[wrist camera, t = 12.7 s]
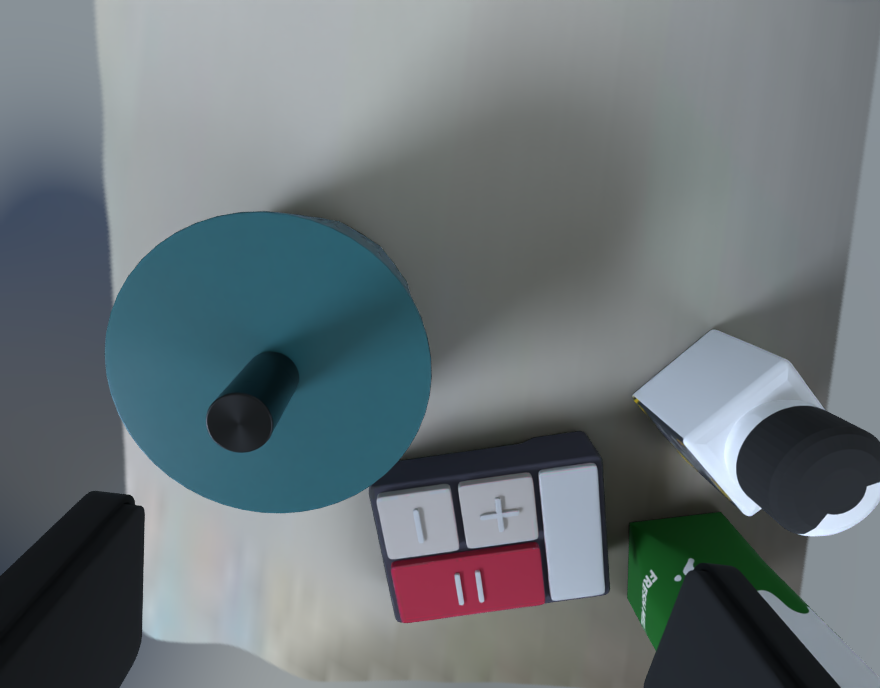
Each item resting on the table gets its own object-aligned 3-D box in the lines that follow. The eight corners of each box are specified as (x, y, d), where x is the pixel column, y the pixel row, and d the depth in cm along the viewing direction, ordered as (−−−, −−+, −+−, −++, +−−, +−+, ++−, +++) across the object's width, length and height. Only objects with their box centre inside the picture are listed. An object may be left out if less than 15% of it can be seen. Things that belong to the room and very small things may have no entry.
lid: (116, 184, 22) (8, 180, 16) (453, 239, 24) (472, 254, 17) (117, 485, 26) (31, 575, 20) (406, 514, 27) (409, 603, 21)
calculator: (365, 494, 31) (606, 460, 31) (372, 459, 36) (586, 429, 35) (395, 634, 35) (615, 604, 34) (398, 586, 39) (594, 560, 38)
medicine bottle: (628, 394, 35) (740, 492, 24) (712, 325, 34) (871, 391, 23) (685, 460, 37) (814, 580, 25) (766, 396, 36) (938, 491, 24)
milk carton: (724, 594, 41) (1014, 949, 21) (613, 608, 40) (808, 984, 21) (733, 499, 38) (1070, 804, 19) (615, 512, 38) (838, 839, 19)
